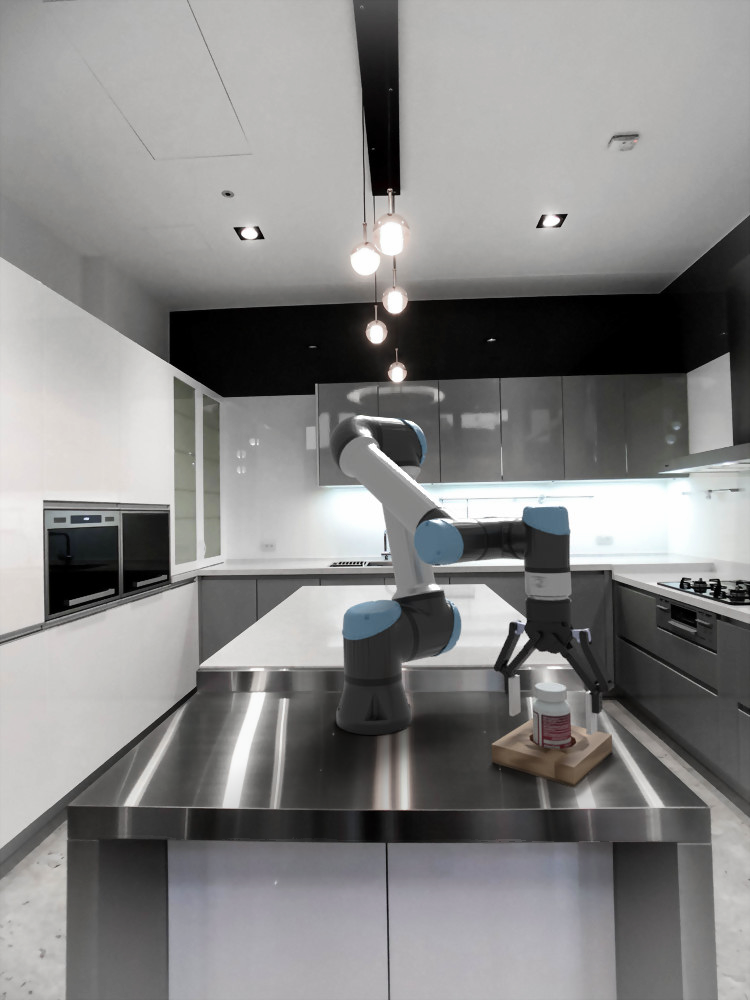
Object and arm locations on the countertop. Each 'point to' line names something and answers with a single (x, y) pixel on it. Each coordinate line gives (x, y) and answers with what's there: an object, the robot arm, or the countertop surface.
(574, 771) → the socket block
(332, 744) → the countertop surface
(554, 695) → the pill bottle
